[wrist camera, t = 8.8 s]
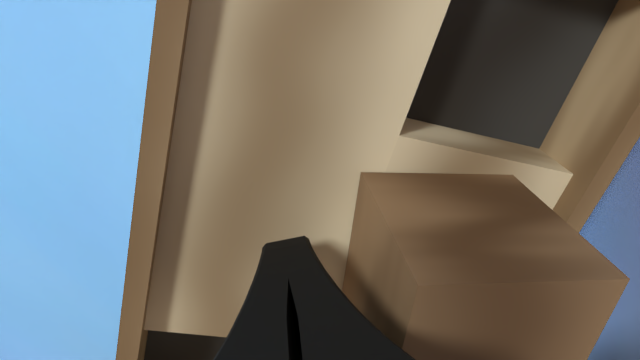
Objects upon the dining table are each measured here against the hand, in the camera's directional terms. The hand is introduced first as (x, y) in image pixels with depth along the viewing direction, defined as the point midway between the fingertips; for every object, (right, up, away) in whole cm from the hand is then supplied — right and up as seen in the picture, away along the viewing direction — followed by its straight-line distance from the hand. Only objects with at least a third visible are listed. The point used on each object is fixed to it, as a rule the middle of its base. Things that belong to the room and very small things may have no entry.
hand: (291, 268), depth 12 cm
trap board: (+2, +1, +3) cm, 4 cm away
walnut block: (+4, +1, +1) cm, 4 cm away
